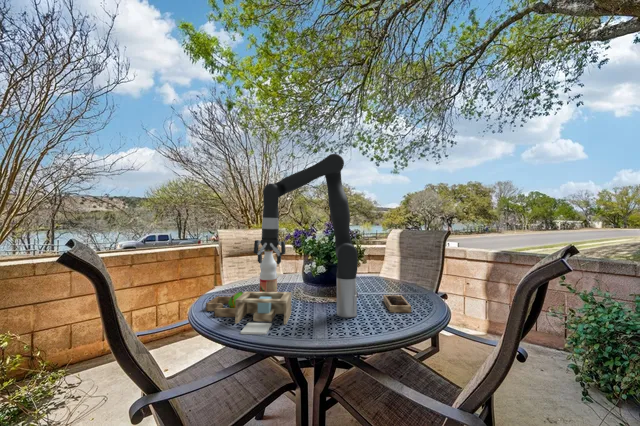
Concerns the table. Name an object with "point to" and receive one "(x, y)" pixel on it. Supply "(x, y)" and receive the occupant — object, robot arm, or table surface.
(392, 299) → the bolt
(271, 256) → the fruit juice
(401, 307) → the wooden tray
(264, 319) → the frame
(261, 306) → the block
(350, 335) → the table surface
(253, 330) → the tile
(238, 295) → the corn
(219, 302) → the corn rack
